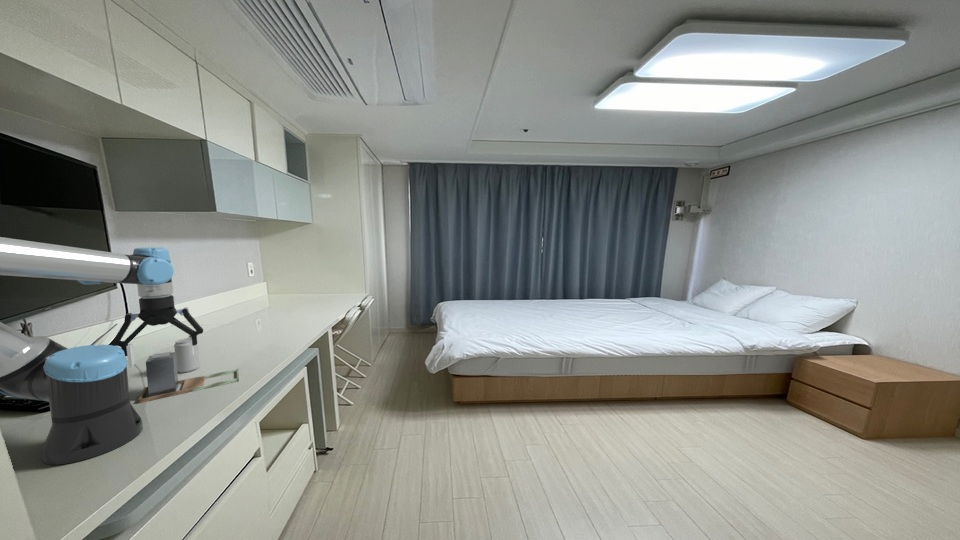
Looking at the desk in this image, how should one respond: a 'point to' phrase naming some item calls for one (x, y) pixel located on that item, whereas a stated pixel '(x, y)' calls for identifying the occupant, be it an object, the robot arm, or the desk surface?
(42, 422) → the desk surface
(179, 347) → the beverage can
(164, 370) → the block
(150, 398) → the rail
